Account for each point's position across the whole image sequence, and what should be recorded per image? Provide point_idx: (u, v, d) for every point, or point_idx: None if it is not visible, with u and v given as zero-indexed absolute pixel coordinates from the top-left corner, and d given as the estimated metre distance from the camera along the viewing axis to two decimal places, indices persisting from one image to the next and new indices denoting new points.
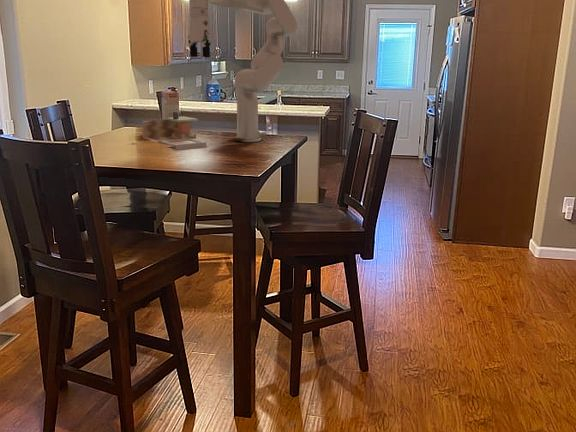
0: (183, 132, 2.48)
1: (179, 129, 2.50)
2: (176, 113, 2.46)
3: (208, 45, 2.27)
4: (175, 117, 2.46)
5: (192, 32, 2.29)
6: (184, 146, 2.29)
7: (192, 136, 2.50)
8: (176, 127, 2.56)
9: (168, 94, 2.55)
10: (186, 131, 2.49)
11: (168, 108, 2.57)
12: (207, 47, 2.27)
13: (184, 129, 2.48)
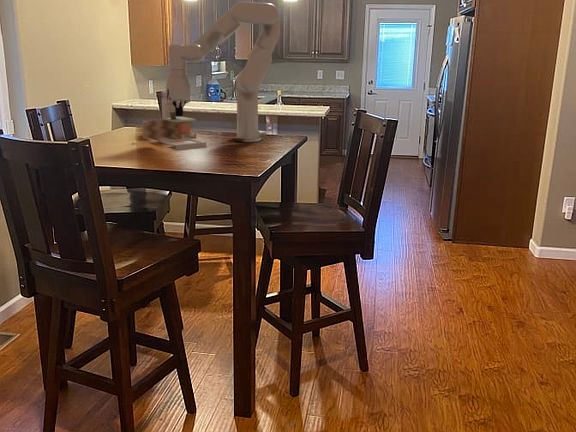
0: (183, 132, 2.48)
1: (179, 129, 2.50)
2: (173, 113, 2.45)
3: None
4: (172, 117, 2.45)
5: (177, 91, 2.43)
6: (184, 146, 2.29)
7: (192, 136, 2.50)
8: (176, 127, 2.56)
9: None
10: (186, 131, 2.49)
11: (168, 108, 2.57)
12: None
13: (184, 129, 2.48)
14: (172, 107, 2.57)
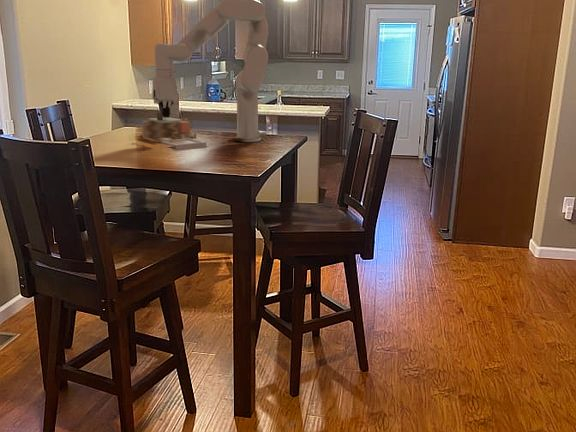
0: (183, 132, 2.48)
1: (179, 129, 2.50)
2: (160, 114, 2.41)
3: None
4: (159, 118, 2.41)
5: (164, 92, 2.39)
6: (184, 146, 2.29)
7: (192, 136, 2.50)
8: (176, 127, 2.56)
9: None
10: (186, 131, 2.49)
11: None
12: None
13: (184, 129, 2.48)
14: (172, 107, 2.57)
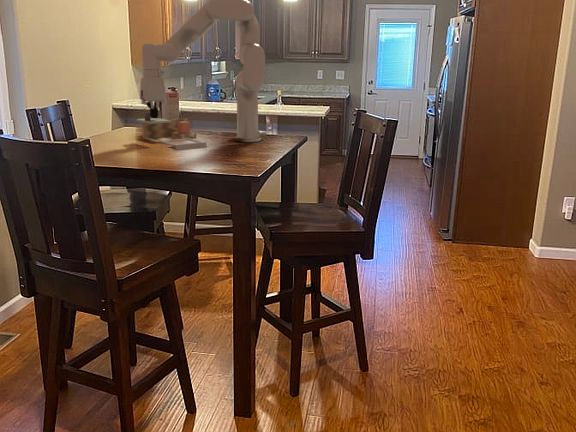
0: (183, 132, 2.48)
1: (179, 129, 2.50)
2: (148, 114, 2.38)
3: None
4: (147, 119, 2.38)
5: (152, 92, 2.35)
6: (184, 146, 2.29)
7: (192, 136, 2.50)
8: (176, 127, 2.56)
9: (168, 94, 2.55)
10: (186, 131, 2.49)
11: (168, 108, 2.57)
12: None
13: (184, 129, 2.48)
14: (172, 107, 2.57)
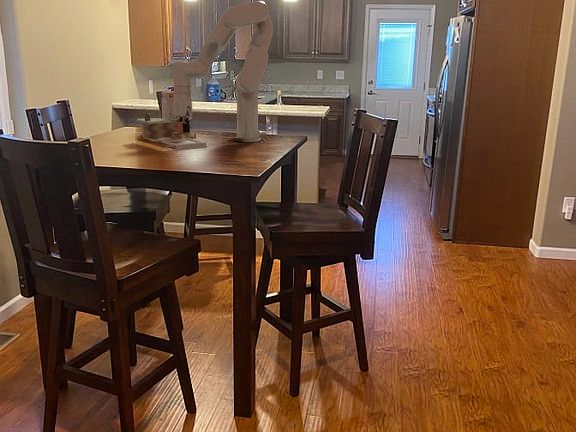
0: (183, 132, 2.48)
1: (179, 129, 2.50)
2: (148, 114, 2.38)
3: None
4: (147, 119, 2.38)
5: None
6: (184, 146, 2.29)
7: (192, 136, 2.50)
8: (176, 127, 2.56)
9: (168, 94, 2.55)
10: None
11: (168, 108, 2.57)
12: None
13: None
14: (172, 107, 2.57)
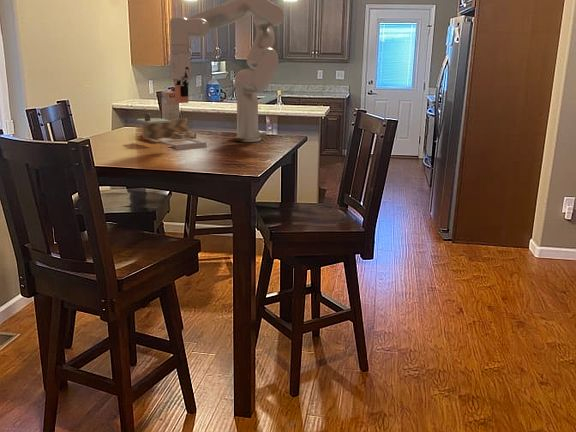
0: (181, 96, 2.29)
1: (176, 93, 2.30)
2: (148, 114, 2.38)
3: None
4: (147, 119, 2.38)
5: None
6: (184, 146, 2.29)
7: (192, 136, 2.50)
8: (176, 127, 2.56)
9: (168, 94, 2.55)
10: None
11: (168, 108, 2.57)
12: None
13: None
14: (172, 107, 2.57)
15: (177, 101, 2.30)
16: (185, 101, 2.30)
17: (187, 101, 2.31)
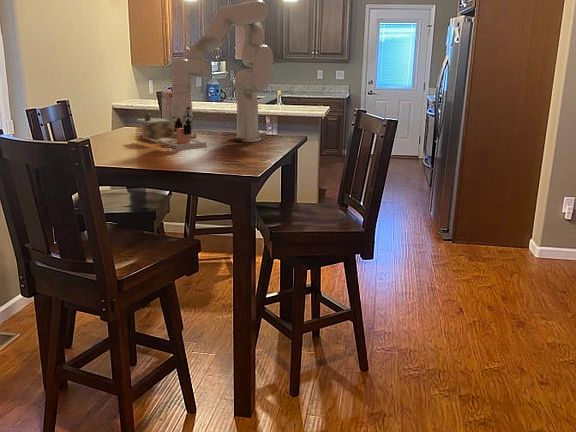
0: (182, 139, 2.34)
1: (178, 136, 2.35)
2: (148, 114, 2.38)
3: None
4: (147, 119, 2.38)
5: None
6: (184, 146, 2.29)
7: (192, 136, 2.50)
8: None
9: (168, 94, 2.55)
10: (185, 138, 2.34)
11: (168, 108, 2.57)
12: None
13: (183, 136, 2.33)
14: None
15: None
16: None
17: None
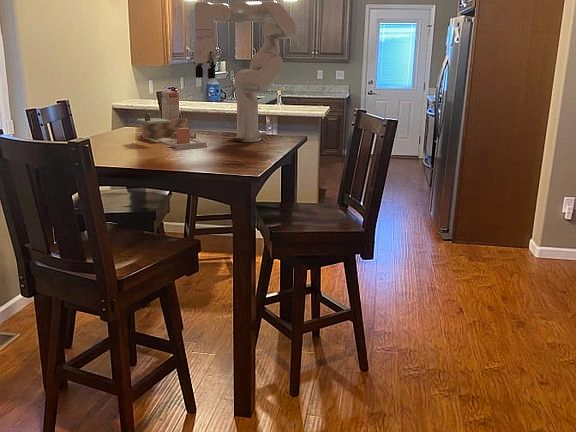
0: (182, 139, 2.34)
1: (178, 136, 2.35)
2: (148, 114, 2.38)
3: None
4: (147, 119, 2.38)
5: None
6: (184, 146, 2.29)
7: (192, 136, 2.50)
8: (176, 127, 2.56)
9: (168, 94, 2.55)
10: (185, 138, 2.34)
11: (168, 108, 2.57)
12: None
13: (183, 136, 2.33)
14: (172, 107, 2.57)
15: None
16: None
17: None
